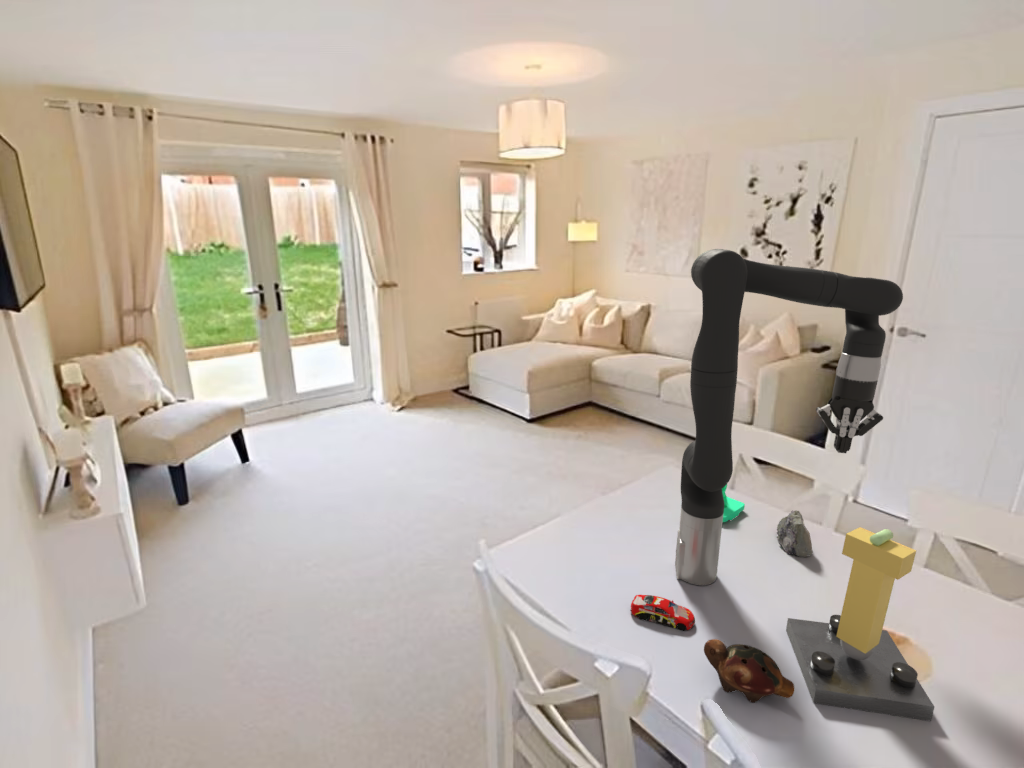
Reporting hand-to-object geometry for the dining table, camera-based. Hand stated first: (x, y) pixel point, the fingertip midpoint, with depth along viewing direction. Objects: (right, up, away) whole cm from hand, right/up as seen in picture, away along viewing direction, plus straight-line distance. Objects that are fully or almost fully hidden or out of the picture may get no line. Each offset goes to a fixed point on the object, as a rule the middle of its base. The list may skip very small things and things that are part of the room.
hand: (840, 451), depth 118 cm
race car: (-40, -35, -3) cm, 53 cm away
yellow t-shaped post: (-9, -35, -19) cm, 41 cm away
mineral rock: (+2, -27, +23) cm, 36 cm away
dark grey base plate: (-9, -39, -18) cm, 43 cm away
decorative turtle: (-30, -40, -21) cm, 54 cm away
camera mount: (-11, -23, +38) cm, 46 cm away
